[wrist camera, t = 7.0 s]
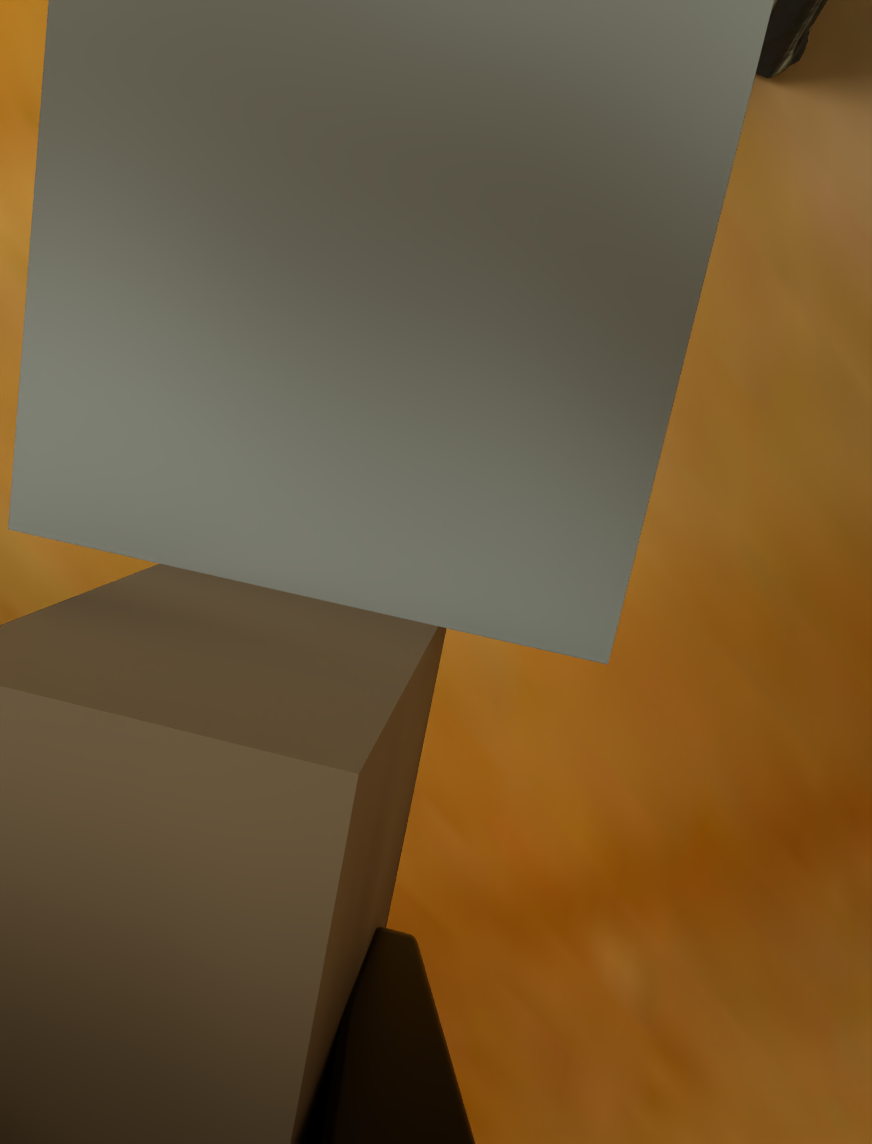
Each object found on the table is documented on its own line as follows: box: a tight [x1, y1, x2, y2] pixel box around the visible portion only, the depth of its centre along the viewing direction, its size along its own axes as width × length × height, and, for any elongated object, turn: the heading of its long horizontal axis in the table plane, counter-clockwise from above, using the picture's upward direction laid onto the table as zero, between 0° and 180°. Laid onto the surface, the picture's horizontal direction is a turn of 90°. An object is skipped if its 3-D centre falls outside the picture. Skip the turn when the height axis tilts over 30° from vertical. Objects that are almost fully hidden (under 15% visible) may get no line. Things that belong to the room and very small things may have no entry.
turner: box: [0, 0, 774, 1144], centre depth 6 cm, size 13×6×4 cm, turn 169°
